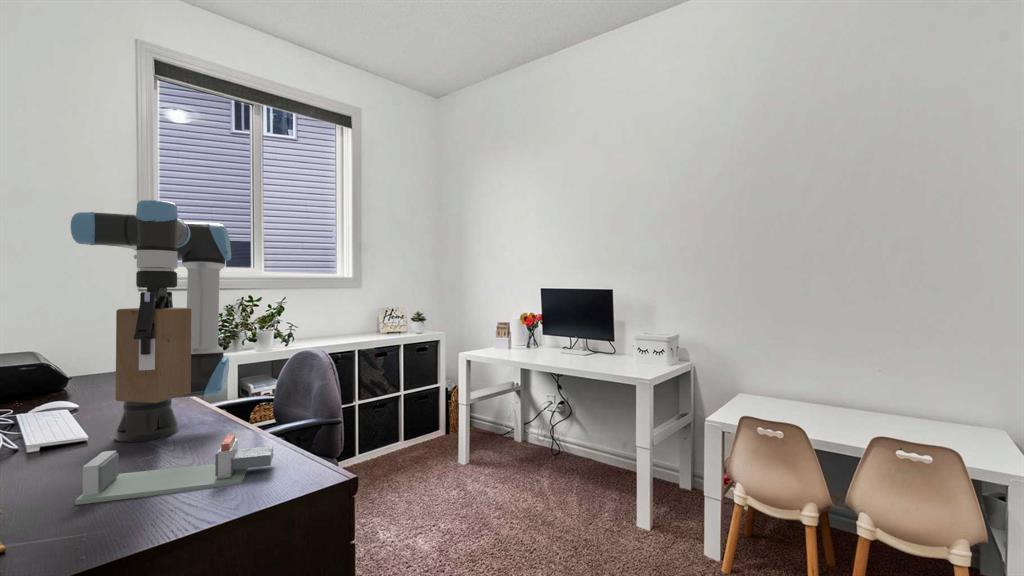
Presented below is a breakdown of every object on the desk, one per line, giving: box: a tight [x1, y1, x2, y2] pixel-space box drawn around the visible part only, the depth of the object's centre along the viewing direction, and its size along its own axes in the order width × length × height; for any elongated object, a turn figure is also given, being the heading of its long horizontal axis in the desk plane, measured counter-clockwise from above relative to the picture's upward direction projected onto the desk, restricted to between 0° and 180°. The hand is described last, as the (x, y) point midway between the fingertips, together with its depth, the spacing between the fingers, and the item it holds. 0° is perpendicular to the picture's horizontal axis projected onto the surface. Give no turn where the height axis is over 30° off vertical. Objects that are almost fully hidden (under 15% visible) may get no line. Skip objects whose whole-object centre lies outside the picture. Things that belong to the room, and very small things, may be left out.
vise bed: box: [74, 450, 249, 506], centre depth 113 cm, size 14×30×7 cm, turn 111°
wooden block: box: [115, 307, 192, 403], centre depth 112 cm, size 10×10×20 cm
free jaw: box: [214, 433, 274, 479], centre depth 119 cm, size 10×11×7 cm
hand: (156, 365), depth 112 cm, fingers closed on wooden block, 13 cm apart
